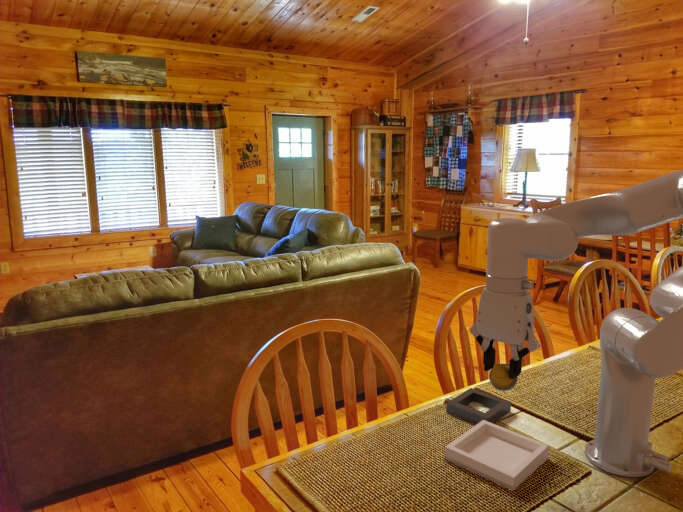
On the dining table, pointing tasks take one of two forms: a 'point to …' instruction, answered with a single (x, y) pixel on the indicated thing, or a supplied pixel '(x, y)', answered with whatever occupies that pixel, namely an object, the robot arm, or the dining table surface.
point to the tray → (497, 454)
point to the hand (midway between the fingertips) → (501, 371)
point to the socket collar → (472, 395)
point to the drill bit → (501, 377)
